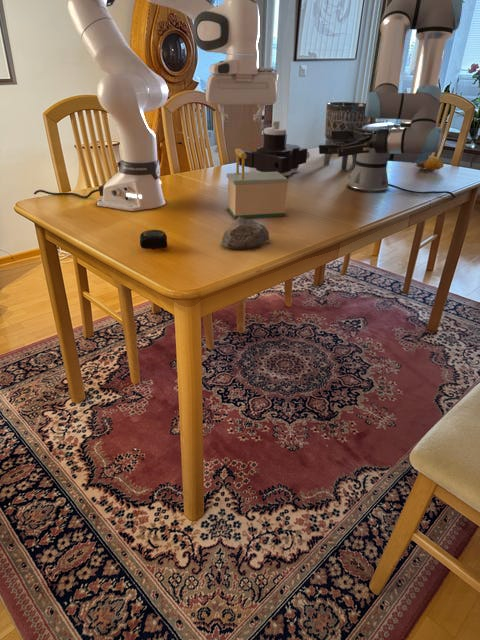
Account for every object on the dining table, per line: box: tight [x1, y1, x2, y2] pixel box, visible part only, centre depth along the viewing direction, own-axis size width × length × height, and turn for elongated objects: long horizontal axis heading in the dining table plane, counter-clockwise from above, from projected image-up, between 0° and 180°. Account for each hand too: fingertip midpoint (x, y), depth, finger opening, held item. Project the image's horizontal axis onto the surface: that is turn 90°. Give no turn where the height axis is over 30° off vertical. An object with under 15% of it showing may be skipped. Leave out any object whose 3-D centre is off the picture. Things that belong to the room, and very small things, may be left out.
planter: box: [323, 101, 371, 172], centre depth 204 cm, size 20×20×26 cm
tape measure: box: [139, 229, 168, 250], centre depth 117 cm, size 7×7×4 cm
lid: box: [226, 147, 288, 185], centre depth 139 cm, size 17×10×9 cm, turn 104°
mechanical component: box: [239, 120, 311, 177], centre depth 191 cm, size 22×21×30 cm
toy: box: [416, 155, 445, 172], centre depth 208 cm, size 11×6×15 cm
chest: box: [227, 178, 288, 220], centre depth 144 cm, size 16×10×10 cm, turn 104°
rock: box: [221, 217, 270, 250], centre depth 119 cm, size 13×9×6 cm, turn 131°
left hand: (241, 121), depth 132 cm, fingers open, 8 cm apart
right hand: (325, 142), depth 156 cm, fingers open, 13 cm apart
